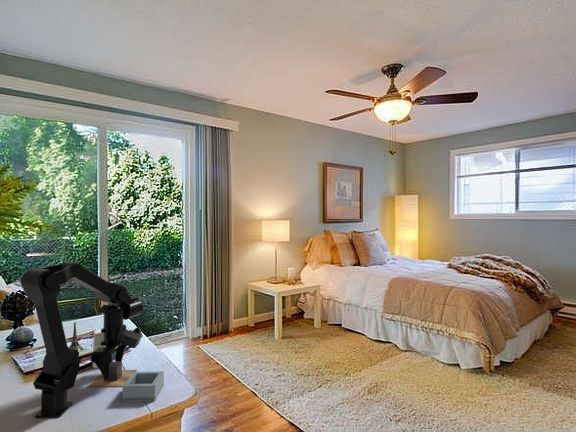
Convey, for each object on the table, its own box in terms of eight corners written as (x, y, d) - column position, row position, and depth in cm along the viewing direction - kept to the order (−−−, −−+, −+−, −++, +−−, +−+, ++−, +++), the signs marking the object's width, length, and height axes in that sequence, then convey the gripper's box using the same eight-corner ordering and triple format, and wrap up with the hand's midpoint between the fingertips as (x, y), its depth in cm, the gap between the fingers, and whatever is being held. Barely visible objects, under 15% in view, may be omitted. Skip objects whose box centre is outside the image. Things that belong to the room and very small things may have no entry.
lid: (123, 388, 108) (123, 371, 108) (86, 389, 107) (86, 372, 107) (136, 372, 119) (136, 356, 119) (103, 373, 118) (103, 357, 118)
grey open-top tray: (154, 401, 100) (155, 385, 100) (122, 402, 99) (122, 386, 99) (163, 385, 109) (163, 371, 109) (134, 386, 108) (134, 371, 108)
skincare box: (93, 369, 120) (93, 333, 119) (92, 364, 123) (92, 330, 123) (113, 364, 123) (113, 330, 123) (111, 360, 127) (112, 327, 127)
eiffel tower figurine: (92, 345, 142) (92, 312, 142) (100, 352, 135) (100, 318, 135) (48, 355, 131) (48, 320, 131) (54, 364, 124) (55, 327, 124)
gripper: (128, 333, 104) (127, 385, 104) (148, 315, 123) (147, 359, 123) (89, 334, 103) (89, 386, 103) (115, 315, 122) (115, 359, 122)
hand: (113, 371), depth 113 cm, fingers open, 9 cm apart
